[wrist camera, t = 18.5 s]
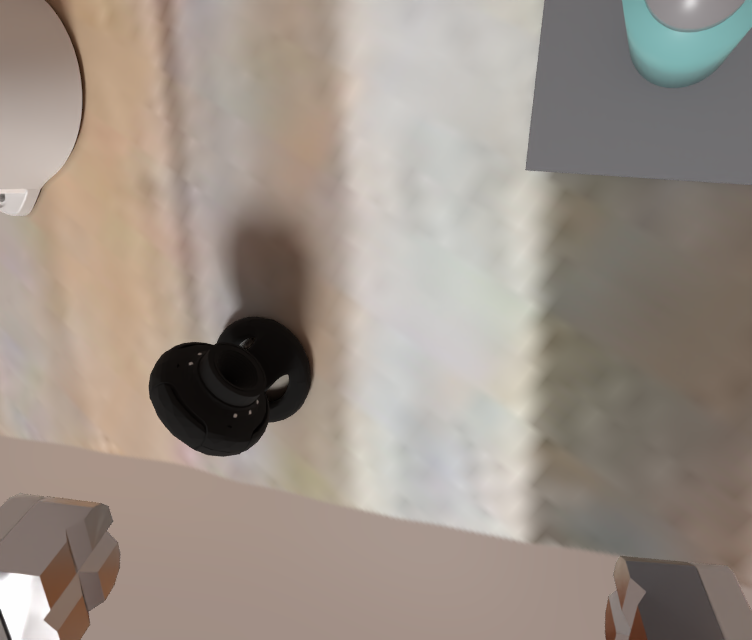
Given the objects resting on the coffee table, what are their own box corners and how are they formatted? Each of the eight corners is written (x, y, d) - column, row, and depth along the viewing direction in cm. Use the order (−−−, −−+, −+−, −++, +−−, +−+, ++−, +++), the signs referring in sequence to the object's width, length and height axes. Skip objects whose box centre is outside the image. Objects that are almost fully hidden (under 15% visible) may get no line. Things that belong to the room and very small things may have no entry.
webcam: (335, 377, 42) (252, 436, 34) (271, 439, 46) (180, 507, 37) (260, 291, 43) (159, 326, 34) (202, 358, 46) (96, 406, 37)
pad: (528, 170, 35) (525, 169, 34) (559, -102, 31) (556, -110, 30) (805, 187, 30) (810, 188, 29) (877, -129, 27) (885, -138, 26)
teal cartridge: (622, 87, 31) (610, 49, 20) (637, -14, 30) (632, -111, 19) (724, 89, 30) (770, 49, 19) (744, -18, 28) (805, -125, 18)
